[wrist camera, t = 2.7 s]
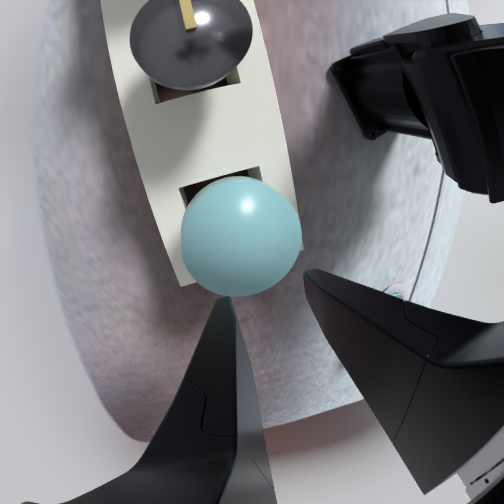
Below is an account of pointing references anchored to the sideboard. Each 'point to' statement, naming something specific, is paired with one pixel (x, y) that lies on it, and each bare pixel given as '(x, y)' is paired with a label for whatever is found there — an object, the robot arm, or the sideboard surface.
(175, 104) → the knob housing
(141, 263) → the sideboard surface
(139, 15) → the pot dial
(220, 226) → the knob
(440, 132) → the robot arm
